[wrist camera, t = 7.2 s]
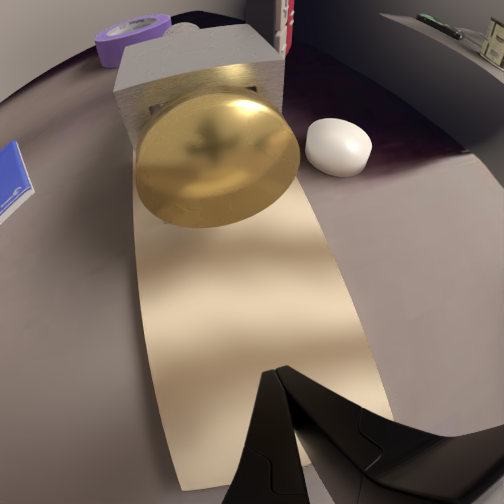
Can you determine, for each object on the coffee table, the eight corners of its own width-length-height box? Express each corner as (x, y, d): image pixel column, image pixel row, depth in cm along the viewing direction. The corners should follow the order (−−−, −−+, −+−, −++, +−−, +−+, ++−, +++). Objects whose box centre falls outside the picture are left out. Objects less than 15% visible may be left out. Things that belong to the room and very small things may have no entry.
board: (387, 427, 13) (396, 427, 12) (186, 486, 11) (182, 491, 10) (267, 131, 23) (267, 121, 22) (136, 159, 22) (132, 150, 21)
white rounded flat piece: (375, 174, 21) (383, 156, 20) (319, 183, 21) (324, 164, 19) (347, 134, 24) (352, 116, 22) (295, 140, 23) (297, 121, 21)
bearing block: (274, 199, 18) (285, 59, 10) (164, 224, 18) (113, 92, 9) (249, 140, 21) (248, 23, 13) (158, 160, 20) (125, 46, 12)
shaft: (291, 210, 15) (309, 95, 9) (160, 241, 14) (111, 134, 8) (222, 65, 23) (218, 1, 17) (151, 79, 22) (137, 17, 16)
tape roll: (179, 34, 38) (175, 9, 34) (167, 58, 32) (161, 28, 28) (114, 47, 38) (108, 24, 34) (91, 76, 32) (82, 48, 28)
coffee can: (503, 66, 48) (516, 32, 35) (511, 77, 43) (526, 40, 31) (476, 49, 50) (488, 14, 38) (482, 58, 46) (495, 19, 33)
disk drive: (463, 40, 55) (423, 19, 60) (465, 33, 53) (425, 12, 58) (458, 42, 52) (415, 20, 57) (460, 35, 49) (417, 12, 54)
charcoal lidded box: (279, 78, 28) (285, -47, 15) (241, 74, 29) (237, -48, 16) (293, 47, 33) (298, -47, 20) (262, 44, 34) (263, -49, 21)
